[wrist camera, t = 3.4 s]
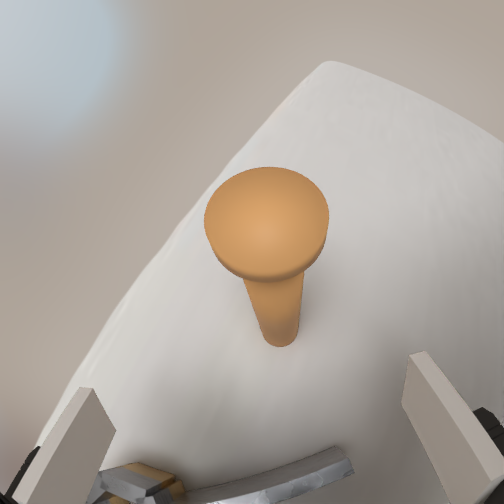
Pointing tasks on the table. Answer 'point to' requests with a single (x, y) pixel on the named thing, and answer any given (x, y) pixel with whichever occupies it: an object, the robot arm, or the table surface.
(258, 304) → the hinge pin
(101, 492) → the hinge leaf
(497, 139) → the table surface
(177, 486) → the hinge leaf
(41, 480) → the robot arm
